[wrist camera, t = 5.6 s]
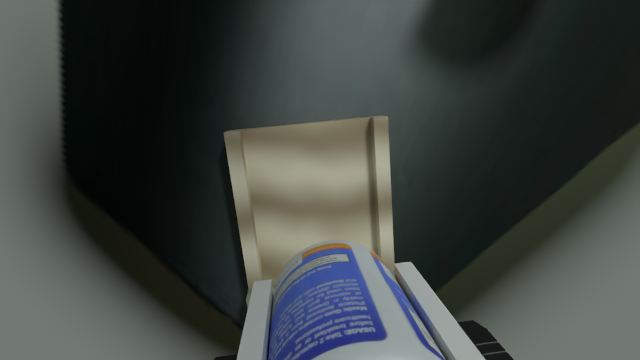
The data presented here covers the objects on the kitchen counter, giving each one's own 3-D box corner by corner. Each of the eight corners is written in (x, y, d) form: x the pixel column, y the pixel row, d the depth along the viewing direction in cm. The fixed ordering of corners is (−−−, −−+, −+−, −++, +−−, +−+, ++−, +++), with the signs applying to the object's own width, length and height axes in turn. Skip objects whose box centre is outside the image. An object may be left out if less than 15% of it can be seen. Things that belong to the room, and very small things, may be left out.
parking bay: (229, 130, 28) (218, 134, 24) (380, 115, 29) (393, 116, 25) (253, 286, 31) (248, 311, 28) (387, 269, 32) (400, 291, 28)
